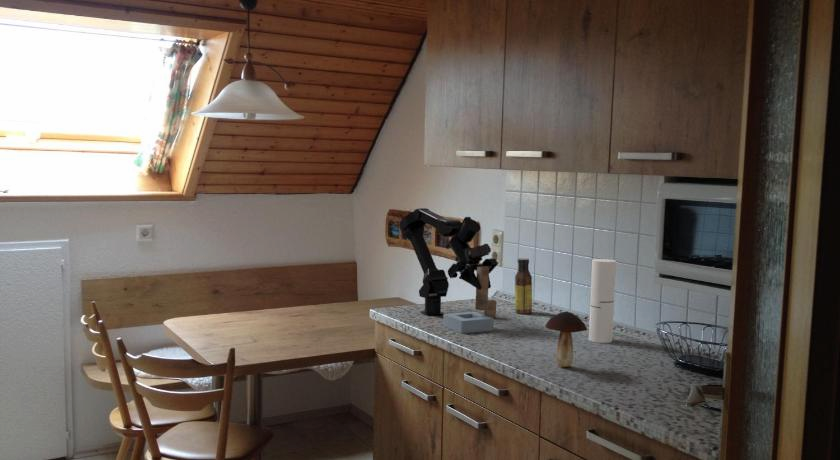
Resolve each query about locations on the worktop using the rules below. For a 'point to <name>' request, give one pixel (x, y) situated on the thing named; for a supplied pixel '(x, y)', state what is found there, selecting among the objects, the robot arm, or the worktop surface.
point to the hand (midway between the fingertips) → (485, 288)
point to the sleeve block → (468, 322)
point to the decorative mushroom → (565, 335)
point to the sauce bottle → (523, 288)
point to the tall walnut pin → (482, 288)
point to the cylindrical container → (602, 300)
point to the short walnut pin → (491, 309)
